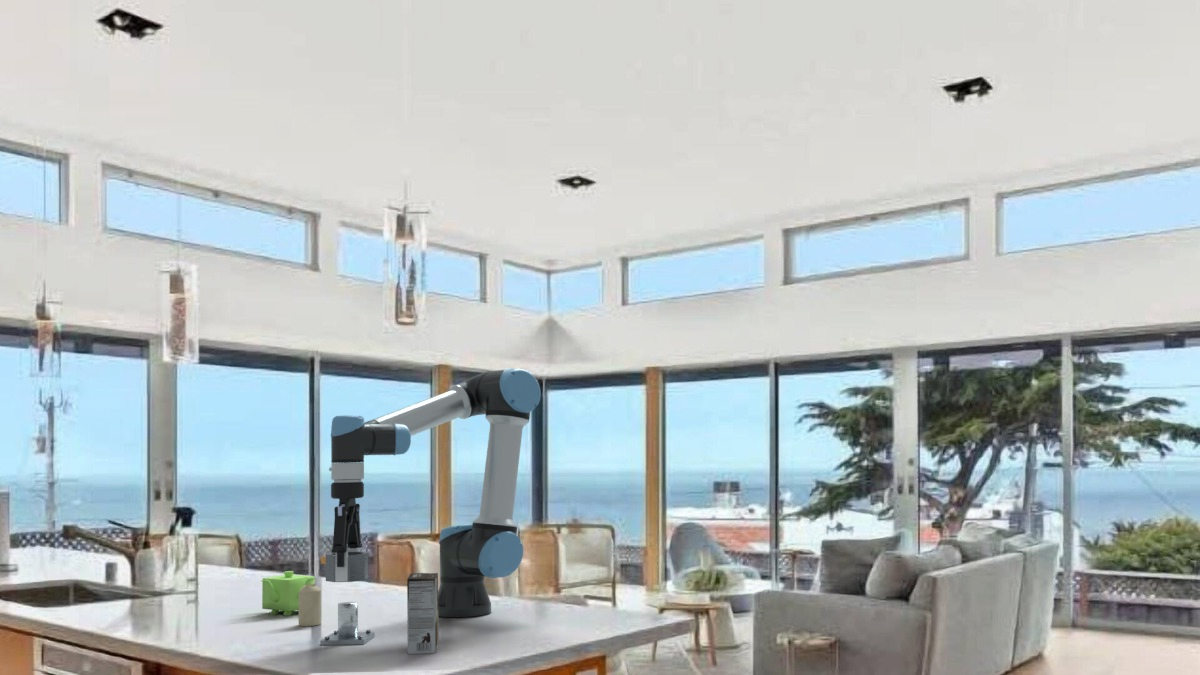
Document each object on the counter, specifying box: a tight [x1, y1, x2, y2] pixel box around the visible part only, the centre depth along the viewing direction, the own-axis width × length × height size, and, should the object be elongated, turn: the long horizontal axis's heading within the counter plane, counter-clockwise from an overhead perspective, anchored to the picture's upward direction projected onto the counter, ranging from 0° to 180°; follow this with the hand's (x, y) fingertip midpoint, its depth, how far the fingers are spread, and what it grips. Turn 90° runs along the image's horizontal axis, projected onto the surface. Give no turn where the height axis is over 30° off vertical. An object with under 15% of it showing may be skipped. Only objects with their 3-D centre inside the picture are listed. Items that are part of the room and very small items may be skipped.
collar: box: [320, 551, 369, 583], centre depth 252 cm, size 10×9×6 cm
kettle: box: [260, 570, 316, 617], centre depth 296 cm, size 15×14×11 cm
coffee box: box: [406, 572, 440, 655], centre depth 238 cm, size 9×6×16 cm
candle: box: [298, 584, 322, 627], centre depth 275 cm, size 6×6×10 cm
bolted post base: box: [319, 601, 375, 646], centre depth 251 cm, size 10×10×8 cm
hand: (347, 578), depth 251 cm, fingers closed on collar, 9 cm apart
